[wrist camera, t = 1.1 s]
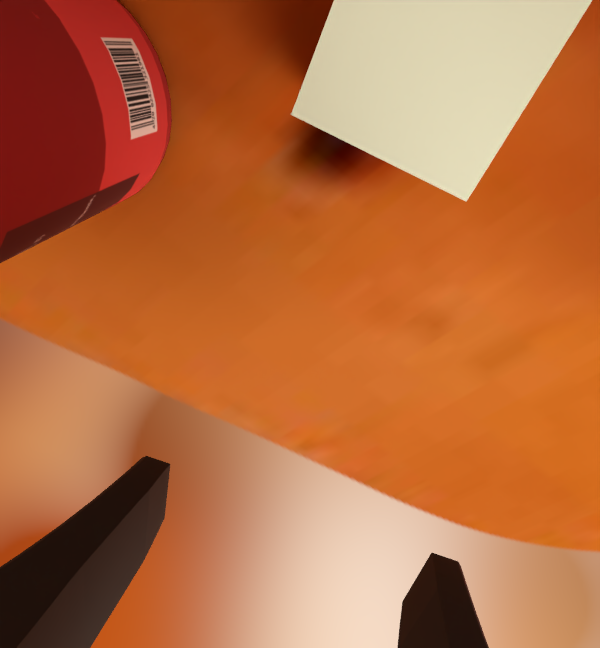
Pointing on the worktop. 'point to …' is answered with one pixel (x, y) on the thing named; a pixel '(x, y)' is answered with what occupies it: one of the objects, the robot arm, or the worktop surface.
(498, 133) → the block
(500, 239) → the worktop surface
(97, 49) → the canned food
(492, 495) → the worktop surface
